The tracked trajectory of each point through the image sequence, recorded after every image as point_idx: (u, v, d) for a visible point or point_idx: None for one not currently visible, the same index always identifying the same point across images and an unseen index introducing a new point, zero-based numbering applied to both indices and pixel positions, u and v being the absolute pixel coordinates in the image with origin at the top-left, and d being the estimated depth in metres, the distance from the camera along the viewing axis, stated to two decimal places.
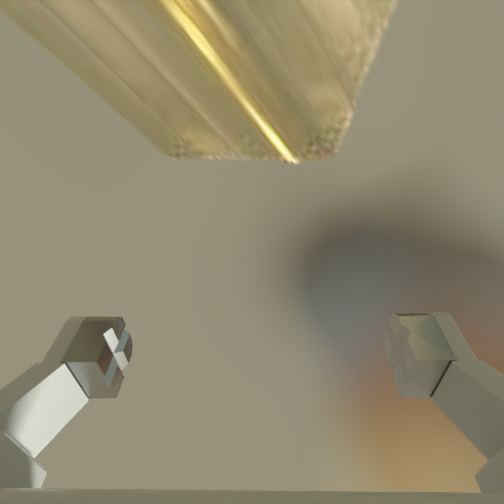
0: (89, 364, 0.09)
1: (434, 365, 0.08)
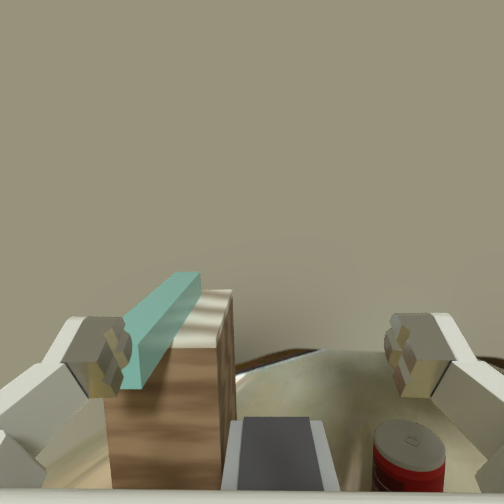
0: (90, 365, 0.09)
1: (434, 365, 0.08)
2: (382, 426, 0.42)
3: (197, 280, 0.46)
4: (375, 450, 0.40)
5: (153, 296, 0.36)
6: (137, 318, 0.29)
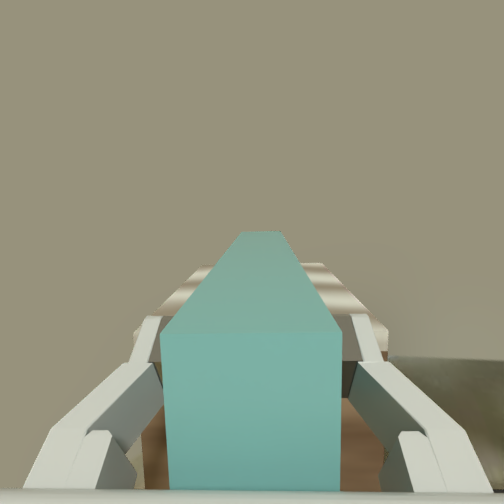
0: None
1: (343, 365, 0.08)
2: None
3: None
4: None
5: (239, 249, 0.18)
6: (250, 276, 0.12)
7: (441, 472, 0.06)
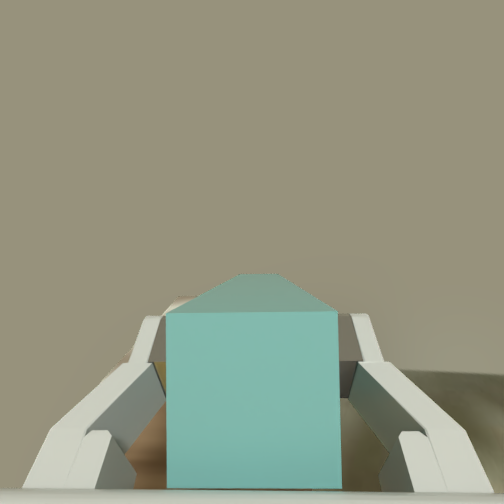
0: None
1: (343, 365, 0.08)
2: None
3: None
4: None
5: (238, 281, 0.19)
6: (249, 291, 0.12)
7: (441, 472, 0.06)
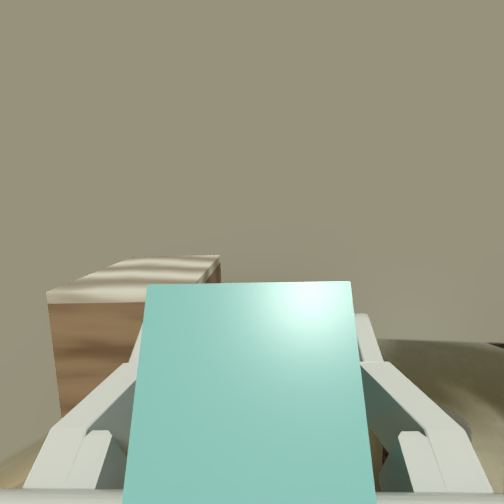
0: None
1: None
2: None
3: None
4: None
5: None
6: None
7: (441, 472, 0.06)
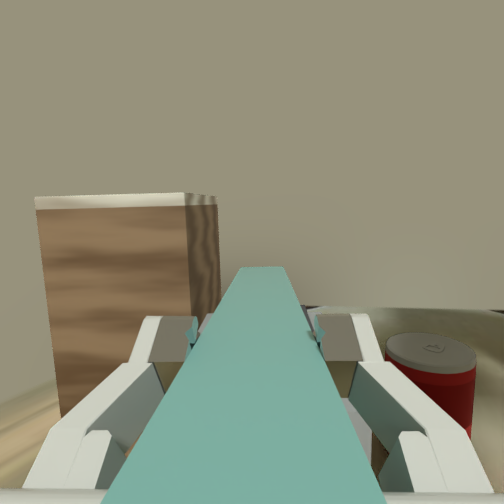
0: (176, 364, 0.08)
1: (343, 365, 0.08)
2: (395, 337, 0.35)
3: None
4: (387, 359, 0.32)
5: (237, 298, 0.16)
6: (247, 353, 0.09)
7: (441, 472, 0.06)
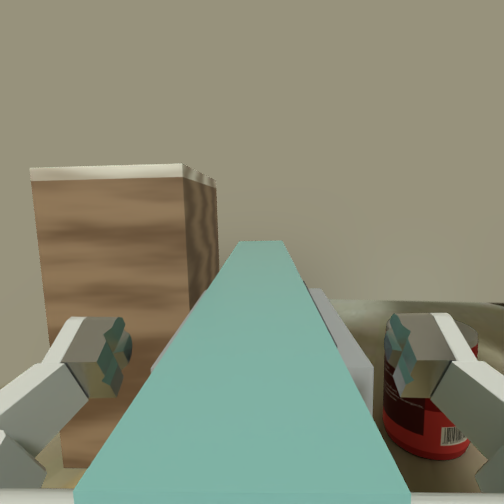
0: (89, 364, 0.09)
1: (434, 365, 0.08)
2: None
3: None
4: None
5: (235, 269, 0.15)
6: (245, 319, 0.09)
7: None
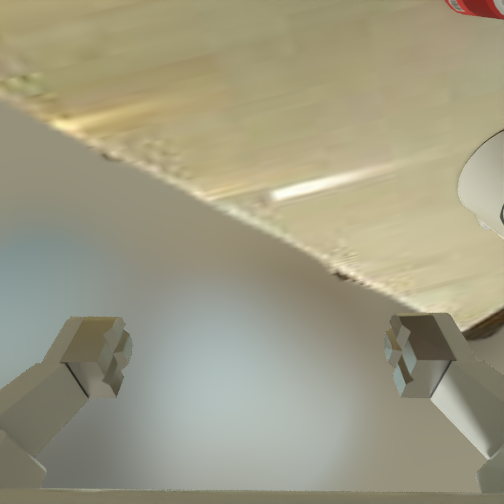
0: (90, 364, 0.09)
1: (434, 365, 0.08)
2: None
3: None
4: None
5: None
6: None
7: None
